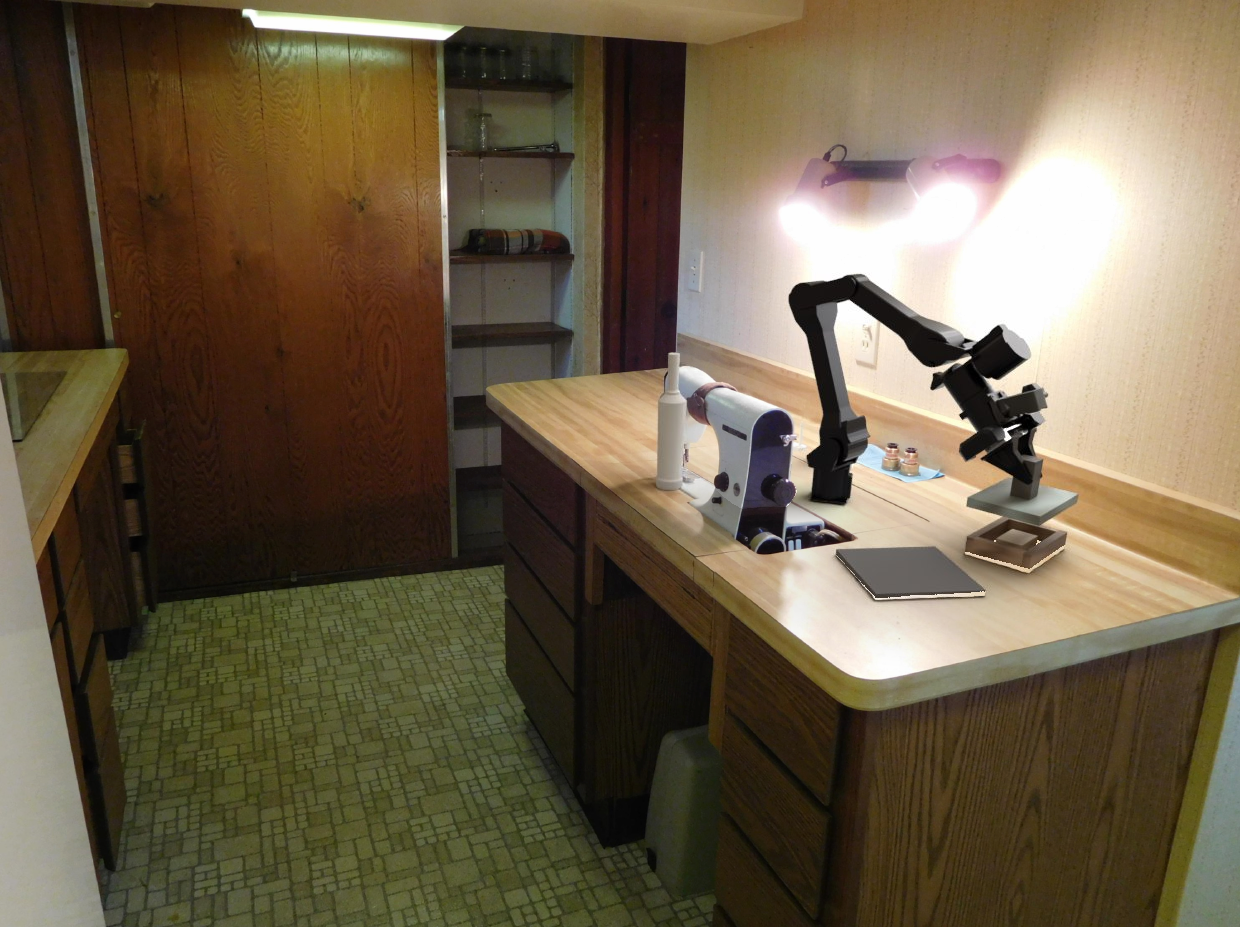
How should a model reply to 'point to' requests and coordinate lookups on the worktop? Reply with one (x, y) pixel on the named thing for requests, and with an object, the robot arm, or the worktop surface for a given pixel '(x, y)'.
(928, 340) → the robot arm
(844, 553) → the rubber mat
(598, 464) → the worktop surface
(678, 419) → the bottle
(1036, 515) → the lid
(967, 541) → the brown wooden flat frame
